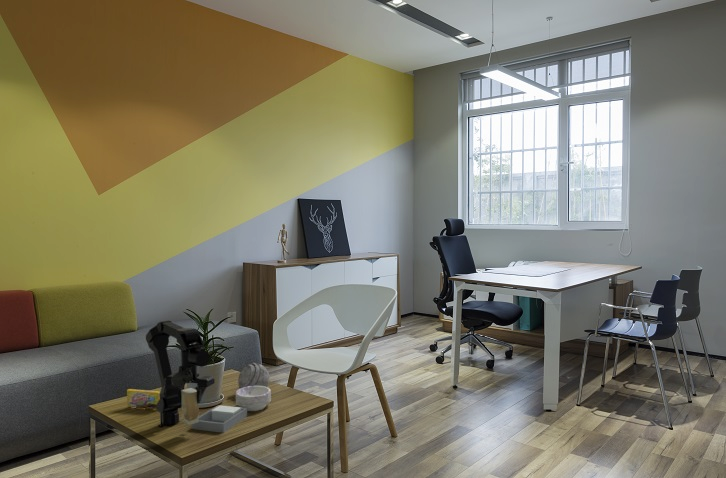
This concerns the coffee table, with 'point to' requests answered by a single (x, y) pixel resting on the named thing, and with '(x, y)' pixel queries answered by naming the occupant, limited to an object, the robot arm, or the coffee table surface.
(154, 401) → the candy box
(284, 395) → the coffee table surface
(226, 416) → the white rectangular block
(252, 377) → the decorative orb
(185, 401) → the skincare box
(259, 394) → the paper bowls
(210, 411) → the tote
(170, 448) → the coffee table surface
